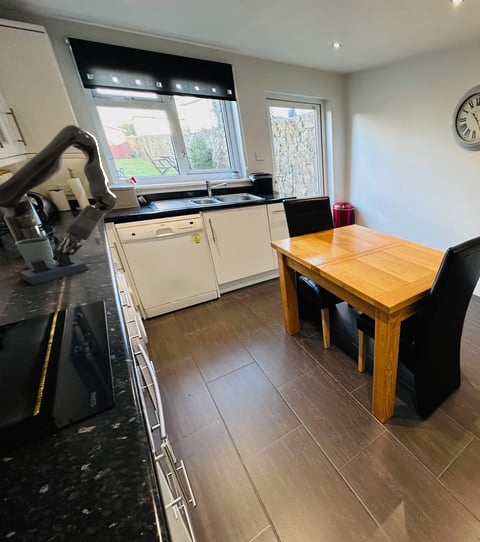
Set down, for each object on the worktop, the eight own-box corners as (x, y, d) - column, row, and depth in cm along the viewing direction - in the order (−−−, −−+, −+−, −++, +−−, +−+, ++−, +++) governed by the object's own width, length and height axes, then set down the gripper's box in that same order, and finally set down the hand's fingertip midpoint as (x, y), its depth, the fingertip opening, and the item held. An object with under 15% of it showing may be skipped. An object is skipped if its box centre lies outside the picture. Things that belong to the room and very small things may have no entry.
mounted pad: (38, 278, 118) (29, 260, 115) (48, 275, 120) (39, 258, 117) (42, 280, 116) (33, 262, 113) (52, 277, 119) (43, 260, 116)
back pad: (60, 268, 123) (53, 251, 120) (69, 265, 126) (62, 249, 123) (64, 270, 122) (57, 252, 119) (73, 267, 124) (66, 250, 121)
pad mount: (23, 279, 116) (19, 271, 115) (77, 265, 131) (74, 258, 129) (33, 285, 112) (29, 277, 111) (88, 270, 127) (85, 262, 125)
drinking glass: (21, 268, 127) (8, 242, 122) (48, 260, 136) (38, 236, 131) (37, 270, 124) (25, 245, 120) (64, 262, 133) (54, 238, 129)
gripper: (99, 234, 126) (75, 267, 121) (84, 229, 132) (60, 261, 127) (80, 224, 120) (53, 260, 114) (65, 220, 125) (39, 254, 120)
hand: (57, 260), depth 121 cm, fingers closed on back pad, 4 cm apart
